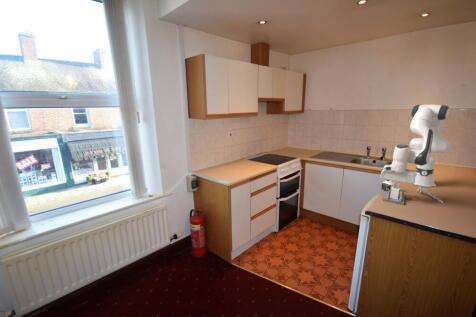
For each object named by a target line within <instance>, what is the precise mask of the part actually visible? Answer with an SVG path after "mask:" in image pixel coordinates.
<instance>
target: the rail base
mask: <svg viewBox="0 0 476 317" xmlns="http://www.w3.org/2000/svg"><path fill="white" fill-rule="evenodd" d="M387 192H388V191H384V194H383V198H382V201H383V202H388V203H391V202H392V204H396V205H400V206H401V205H402V206H404V205H405V194H403V193H402V199H401V202H399V198H400V193H399V194H398V199H394V198H390V194H391V192H389V196H388V200H387V199H386V197H387Z"/></svg>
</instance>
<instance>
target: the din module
mask: <svg viewBox="0 0 476 317" xmlns="http://www.w3.org/2000/svg"><path fill="white" fill-rule="evenodd" d="M398 194H400V185H398V187H393V185H392V188H391V194H390V198H394V199H398Z"/></svg>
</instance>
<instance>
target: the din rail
mask: <svg viewBox="0 0 476 317" xmlns="http://www.w3.org/2000/svg"><path fill="white" fill-rule="evenodd" d="M389 191H390V189H388V192H387V197H386V199H387V200H388V196H389ZM399 194H400V198H399V202H401V199H402V194H403V191H402V190H399Z"/></svg>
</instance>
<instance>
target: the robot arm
mask: <svg viewBox="0 0 476 317" xmlns="http://www.w3.org/2000/svg"><path fill="white" fill-rule="evenodd" d="M450 113H451V109H450V107H449V106H448V105H445V104H441V105H440V104H433V103H432V104H415V105H414V106H412V109H411V111H410V115H411V117H412V119H411V122H410V124H409V129H410V131H411V133H412V134H414V135H417V136H419V137H414V138H412V139H411V140H409V143H408V144H409V145H407V144H397V145H396V146H395V147H394V150H393V153H392V154H393V155H392V162H391V163H390V164H385V165H384V166H383V169H382V170H381V172H380V176H379V178H380V179H381V180H385V179H386V180H392V183H393V187H398V186H400V185H401V183H405V184H412V185H416V186H418V187H419V186H420V185H421V186H423V187H425V188H426V187H427V188H428V187H429V188H431V187H437V184H436V183H435V179H436V176H435V175H434V169H435V168H434V167H435V159H434V157H432V156H431V153H436V154H446V153H447V152H449V151H450V149H451V148H452V147H451V143H450V141H449V140H447V139H446V138H444V136H443V134H442V132H441V130H442V121H443V120H446V119H447V118H448V117H449V115H450ZM408 164H414V165H415V169H409V168H408ZM394 181H395V182H394ZM396 182H398V183H397V184H395V183H396Z"/></svg>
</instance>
